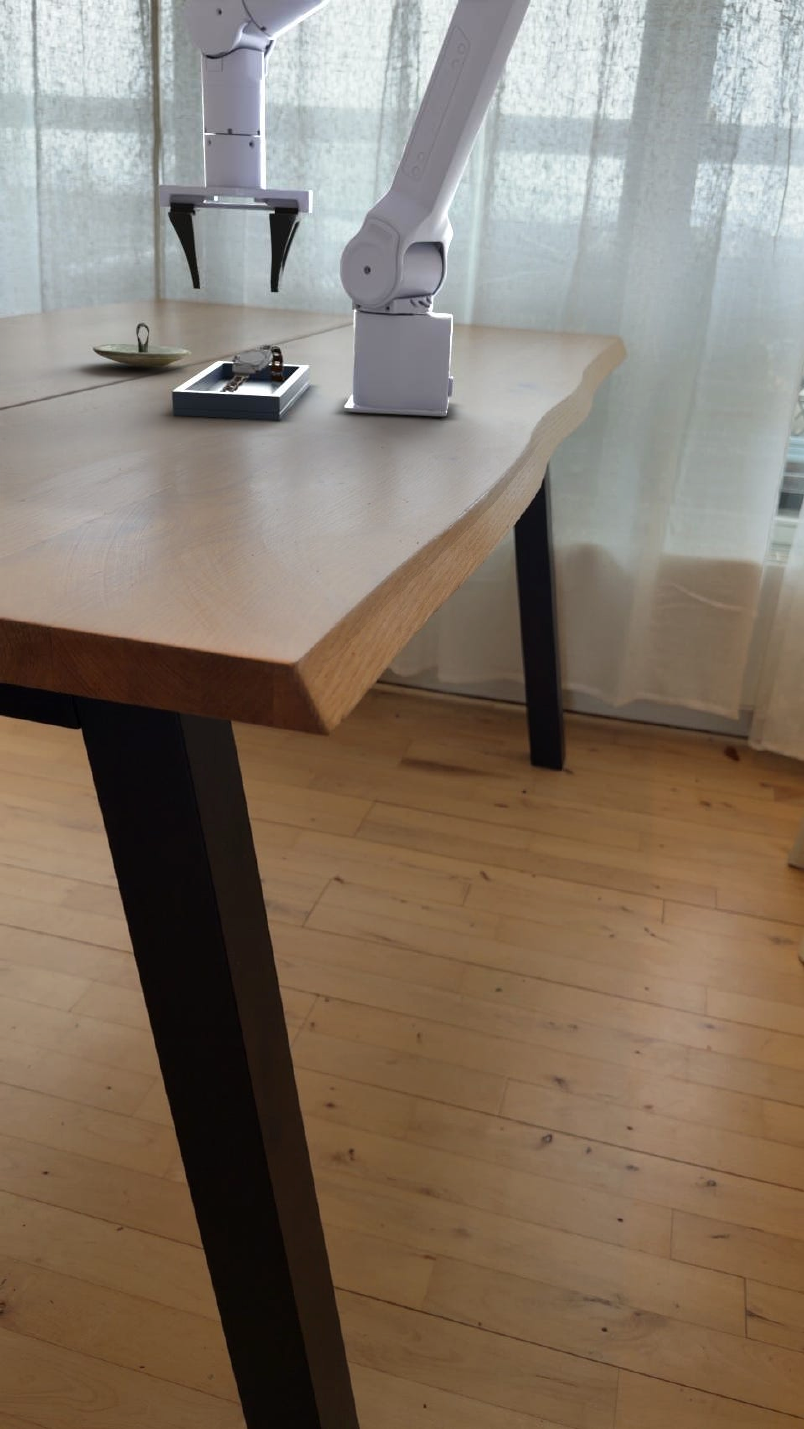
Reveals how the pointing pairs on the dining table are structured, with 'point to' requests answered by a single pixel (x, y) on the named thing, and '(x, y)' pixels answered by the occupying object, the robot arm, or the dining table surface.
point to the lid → (141, 352)
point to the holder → (240, 393)
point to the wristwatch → (255, 366)
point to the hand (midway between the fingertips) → (237, 290)
